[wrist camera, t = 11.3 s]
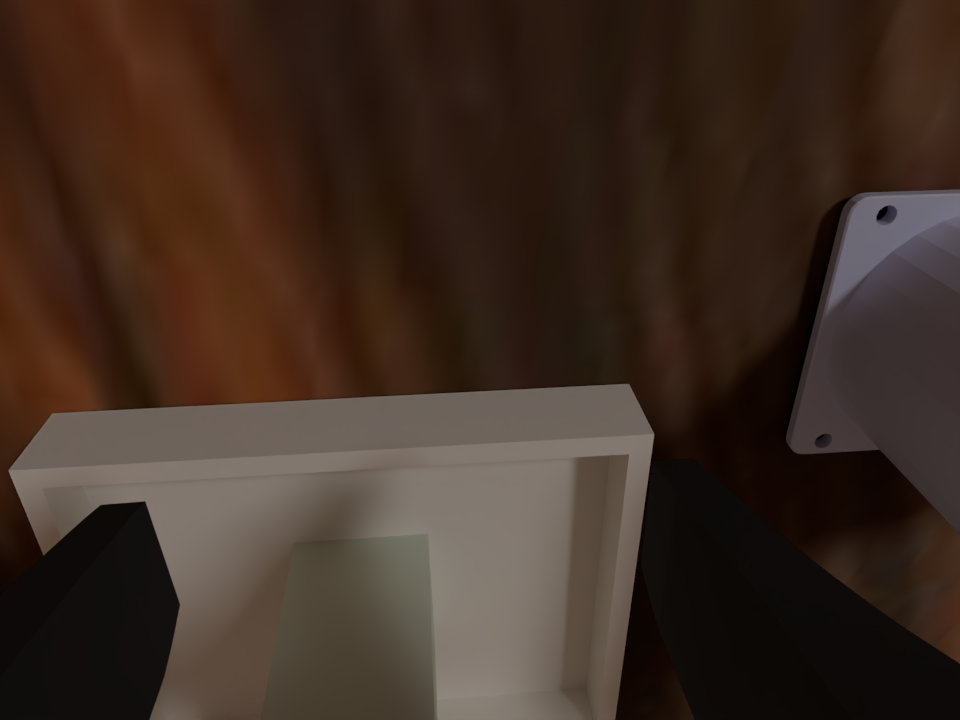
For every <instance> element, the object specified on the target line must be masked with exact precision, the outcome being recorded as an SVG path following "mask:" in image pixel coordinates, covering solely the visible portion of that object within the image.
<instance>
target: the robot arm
mask: <svg viewBox="0 0 960 720" xmlns="http://www.w3.org/2000/svg"><path fill="white" fill-rule="evenodd" d="M885 206H888V211H887V213H886V215H885V216H884V217H882V218H881V219H879V220H876V216H877V214H878V212H879V210H881V209H882V208H883V207H885ZM822 434H825V435H824V436H823V437H822V438H821V439H819V440H816V439H817V437H819V436H820V435H822ZM786 442H787V444H788V445H789V447H790V448H791V449H792V451H794V452H795V453H797V454H817V453H834V452H850V451H867V450H881V452H882V453H883V454H884V455H885V456H886V457H887V458H888V459H889V460H890V461H891V462H892V463H893V464H894V465H895V466H896V467H897V468H898V470H899V471H900V472H901V473H902V474H903V475H904V476H905V477H906V478H907V479H908V480H909V481H910V482H911V483H912V484H913V485H914V486H915V488H916V489H917V490H918V491H919V492H920V493H921V494H922V495H923V496H924V497H925V498H926V499H927V500H928V501H929V502H930V503H931V504H932V506H933V507H934V508H935V509H936V510H937V511H938V512H939V513H940V514H941V515H942V516H943V517H944V518H945V519H946V520H947V521H948V522H949V524H950V525H951V526H952V527H953V528H954V529H955V530H956V531H957V532H958V533H959V534H960V190H931V191H900V192H870V193H861V194H857V195H856V196H854V197H852V198H851V199H850V200H849V201H848V202H847V203H846V204H845V206H844V208H843V210H842V213H841V217H840V221H839V225H838V229H837V233H836V237H835V241H834V245H833V249H832V253H831V257H830V261H829V265H828V269H827V273H826V277H825V281H824V285H823V289H822V293H821V297H820V301H819V305H818V309H817V313H816V318H815V322H814V326H813V330H812V334H811V338H810V342H809V346H808V350H807V354H806V358H805V362H804V366H803V370H802V374H801V378H800V382H799V386H798V390H797V394H796V398H795V402H794V406H793V410H792V414H791V418H790V422H789V427H788V431H787V435H786ZM641 567H642V571H643V575H644V579H645V583H646V586H647V590H648V594H649V598H650V601H651V605H652V608H653V612H654V615H655V619H656V622H657V626H658V629H659V632H660V634H661V637H662V640H663V642H664V645H665V647H666V650H667V652H668V655H669V657H670V660H671V662H672V664H673V667H674V669H675V672H676V674H677V677H678V679H679V682H680V684H681V687H682V689H683V691H684V694H685V696H686V699H687V701H688V704H689V706H690V708H691V711H692V713H693V716H694V718H695V720H960V664H959V663H958V662H956V661H955V660H953V659H952V658H950V657H948V656H947V655H945V654H944V653H942V652H941V651H939V650H938V649H936V648H935V647H933V646H932V645H930V644H928V643H927V642H925V641H924V640H922V639H921V638H919V637H918V636H916V635H915V634H913V633H912V632H910V631H908V630H907V629H905V628H904V627H902V626H901V625H900V624H898V623H897V622H895V621H894V620H892V619H891V618H889V617H888V616H887V615H885V614H884V613H882V612H881V611H879V610H878V609H877V608H875V607H874V606H873V605H871V604H870V603H869V602H867V601H866V600H865V599H863V598H862V597H860V596H859V595H858V594H856V593H855V592H854V591H852V590H851V589H850V588H848V587H847V586H846V585H844V584H843V583H842V582H840V581H839V580H837V579H836V578H835V577H833V576H832V575H831V574H830V573H828V572H827V571H826V570H825V569H823V568H822V567H821V566H819V565H818V564H817V563H816V562H814V561H813V560H812V559H811V558H809V557H808V556H807V555H806V554H804V553H803V552H802V551H801V550H799V549H798V548H797V547H796V546H794V545H793V544H792V543H791V542H790V541H788V540H787V539H786V538H785V537H784V536H782V535H781V534H780V533H779V532H778V531H776V530H775V529H774V528H773V527H772V526H770V525H769V524H768V523H767V522H766V521H765V520H763V519H762V518H761V517H760V516H759V515H758V514H756V513H755V512H754V511H753V510H752V509H751V508H749V507H748V506H747V505H746V504H745V503H744V502H743V501H741V500H740V499H739V498H738V497H737V496H736V495H735V494H733V493H732V492H731V491H730V490H729V489H728V488H727V487H725V486H724V485H723V484H722V483H721V482H720V481H719V480H718V479H716V478H715V477H714V476H713V475H712V474H711V473H710V472H708V471H707V470H706V469H705V468H704V467H703V466H701V465H700V464H699V463H698V462H697V461H696V460H694V459H680V460H667V461H654V462H652V466H651V475H650V484H649V494H648V503H647V512H646V521H645V530H644V540H643V549H642V558H641ZM179 608H180V603H179V600H178V597H177V594H176V591H175V588H174V585H173V582H172V579H171V576H170V573H169V570H168V567H167V564H166V561H165V558H164V555H163V552H162V549H161V546H160V543H159V540H158V537H157V535H156V532H155V529H154V526H153V523H152V520H151V517H150V514H149V511H148V508H147V505H146V502H145V501H143V502H130V503H118V504H105V505H100V506H99V507H98V508H96V509H95V510H94V511H93V512H92V513H90V514H89V515H88V516H87V517H86V518H85V519H83V520H82V521H81V522H80V523H79V524H78V525H77V526H75V527H74V528H73V529H72V530H71V531H70V532H69V533H68V534H67V535H66V536H64V537H63V538H62V539H61V540H60V541H59V542H58V543H57V544H56V545H55V546H53V547H52V548H51V549H50V550H49V551H48V552H47V553H46V554H45V555H44V556H42V557H41V558H40V559H39V560H38V561H37V562H36V563H35V564H34V565H33V566H32V567H30V568H29V569H28V570H27V571H26V572H25V573H24V574H23V575H22V576H21V577H19V578H18V579H17V580H16V581H15V582H14V583H13V584H12V585H10V586H9V587H8V588H7V589H6V590H5V591H4V592H3V593H2V594H0V720H149V719H150V717H151V714H152V711H153V708H154V705H155V702H156V700H157V697H158V694H159V691H160V688H161V685H162V682H163V679H164V676H165V672H166V668H167V664H168V660H169V655H170V651H171V647H172V642H173V638H174V633H175V628H176V623H177V618H178V613H179Z"/></svg>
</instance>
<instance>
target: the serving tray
mask: <svg viewBox="0 0 960 720" xmlns="http://www.w3.org/2000/svg"><path fill="white" fill-rule="evenodd" d="M653 440H654V433H653V431H652V429H651V427H650V425H649V423H648V421H647V419H646V417H645V415H644V413H643V411H642V409H641V407H640V405H639V403H638V401H637V399H636V397H635V395H634V393H633V391H632V389H631V387H630V385H629V384H617V385H597V386H578V387H558V388H538V389H519V390H499V391H480V392H460V393H441V394H421V395H402V396H382V397H363V398H343V399H324V400H304V401H285V402H265V403H246V404H226V405H207V406H187V407H168V408H148V409H129V410H109V411H90V412H70V413H52V415H51V416H50V417H49V419H48V420H47V421H46V423H45V424H44V425H43V426H42V428H41V429H40V430H39V432H38V433H37V434H36V435H35V437H34V438H33V439H32V441H31V442H30V443H29V445H28V446H27V447H26V448H25V450H24V451H23V452H22V454H21V455H20V456H19V458H18V459H17V460H16V461H15V463H14V464H13V465H12V467H11V468H10V469H9V473H10V476H11V478H12V481H13V483H14V485H15V488H16V490H17V493H18V495H19V497H20V500H21V502H22V505H23V507H24V509H25V512H26V514H27V517H28V519H29V522H30V524H31V526H32V529H33V531H34V534H35V536H36V538H37V541H38V543H39V546H40V548H41V550H42V553H43V555H45V554H46V553H47V552H48V551H49V550H50V549H51V548H52V547H53V546H55V545H56V544H57V543H58V542H59V541H60V540H61V539H62V538H63V537H64V536H66V535H67V534H68V533H69V532H70V531H71V530H72V529H73V528H74V527H75V526H77V525H78V524H79V523H80V522H81V521H82V520H83V519H85V518H86V517H87V516H88V515H89V514H90V513H92V512H93V511H94V510H95V509H96V508H98V507H99V506H100V505H105V504H118V503H130V502H143V501H145V502H146V505H147V508H148V511H149V514H150V517H151V520H152V523H153V526H154V529H155V532H156V535H157V537H158V540H159V543H160V546H161V549H162V552H163V555H164V558H165V561H166V564H167V567H168V570H169V573H170V576H171V579H172V582H173V585H174V588H175V591H176V594H177V597H178V600H179V603H180V608H179V613H178V618H177V623H176V628H175V633H174V638H173V642H172V647H171V651H170V655H169V660H168V664H167V668H166V672H165V676H164V679H163V682H162V685H161V688H160V691H159V694H158V697H157V700H156V702H155V705H154V708H153V711H152V714H151V717H150V719H149V720H260V719H261V713H262V708H263V703H264V698H265V693H266V688H267V682H268V677H269V672H270V667H271V662H272V657H273V651H274V646H275V641H276V636H277V631H278V626H279V620H280V615H281V610H282V605H283V600H284V595H285V589H286V584H287V579H288V574H289V569H290V563H291V558H292V553H293V548H294V543H301V542H315V541H330V540H344V539H358V538H372V537H386V536H400V535H414V534H428V540H429V555H430V570H431V585H432V600H433V615H434V635H435V661H436V688H437V715H438V720H615V717H616V709H617V702H618V695H619V687H620V680H621V673H622V666H623V658H624V651H625V644H626V636H627V629H628V622H629V615H630V607H631V600H632V593H633V585H634V578H635V571H636V564H637V556H638V549H639V542H640V534H641V527H642V520H643V513H644V505H645V498H646V491H647V483H648V476H649V469H650V462H651V454H652V447H653Z"/></svg>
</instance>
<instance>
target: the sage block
mask: <svg viewBox="0 0 960 720" xmlns="http://www.w3.org/2000/svg"><path fill="white" fill-rule="evenodd" d="M260 720H438V715H437V688H436V661H435V635H434V615H433V600H432V585H431V570H430V555H429V540H428V534H414V535H400V536H386V537H372V538H358V539H344V540H330V541H315V542H301V543H294V548H293V553H292V558H291V563H290V569H289V574H288V579H287V584H286V589H285V595H284V600H283V605H282V610H281V615H280V620H279V626H278V631H277V636H276V641H275V646H274V651H273V657H272V662H271V667H270V672H269V677H268V682H267V688H266V693H265V698H264V703H263V708H262V713H261V719H260Z"/></svg>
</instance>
